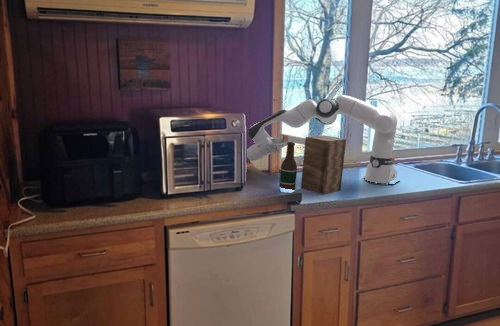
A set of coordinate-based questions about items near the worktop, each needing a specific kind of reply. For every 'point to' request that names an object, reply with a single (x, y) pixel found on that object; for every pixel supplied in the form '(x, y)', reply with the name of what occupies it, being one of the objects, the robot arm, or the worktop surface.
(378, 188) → the worktop surface
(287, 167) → the beer bottle
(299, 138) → the bar
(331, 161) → the shelf
